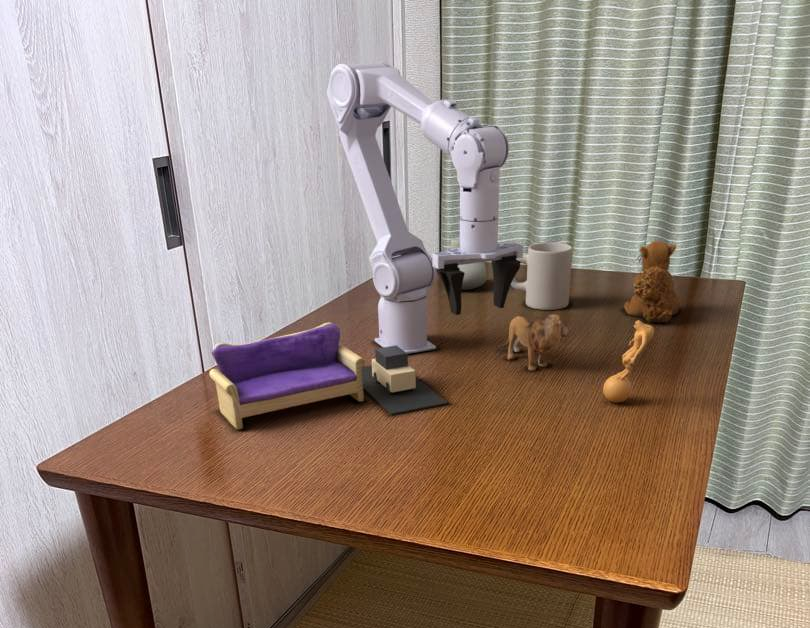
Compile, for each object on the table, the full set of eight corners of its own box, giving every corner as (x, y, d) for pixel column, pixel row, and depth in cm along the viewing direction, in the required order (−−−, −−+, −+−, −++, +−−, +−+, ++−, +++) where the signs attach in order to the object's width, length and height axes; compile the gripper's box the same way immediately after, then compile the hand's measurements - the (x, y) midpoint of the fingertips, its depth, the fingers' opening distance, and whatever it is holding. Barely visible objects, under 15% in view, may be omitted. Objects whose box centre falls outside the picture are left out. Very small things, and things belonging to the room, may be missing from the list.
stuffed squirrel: (675, 306, 158) (686, 236, 151) (684, 328, 146) (695, 253, 139) (623, 306, 159) (631, 236, 152) (627, 327, 148) (635, 252, 141)
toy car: (372, 379, 128) (370, 346, 125) (395, 375, 129) (394, 342, 126) (391, 396, 122) (390, 361, 119) (416, 392, 123) (415, 357, 120)
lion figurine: (570, 370, 130) (574, 314, 125) (545, 377, 127) (548, 321, 122) (510, 347, 140) (512, 295, 135) (486, 353, 138) (487, 300, 133)
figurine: (602, 390, 122) (610, 310, 116) (643, 392, 121) (654, 312, 114) (601, 411, 115) (610, 328, 109) (645, 414, 114) (656, 330, 107)
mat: (344, 372, 132) (344, 370, 132) (395, 363, 135) (395, 361, 135) (391, 415, 116) (391, 413, 116) (447, 404, 119) (447, 402, 119)
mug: (569, 299, 165) (573, 242, 159) (567, 310, 158) (572, 252, 152) (510, 297, 167) (512, 242, 161) (506, 309, 160) (508, 251, 154)
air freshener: (441, 282, 179) (441, 234, 174) (478, 279, 180) (479, 232, 175) (449, 294, 170) (449, 245, 165) (488, 292, 171) (489, 243, 166)
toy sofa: (232, 432, 113) (221, 361, 107) (214, 412, 119) (203, 344, 114) (368, 402, 121) (364, 334, 115) (344, 384, 127) (339, 319, 122)
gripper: (446, 227, 115) (447, 323, 122) (535, 217, 119) (530, 309, 126) (426, 220, 120) (427, 311, 127) (511, 210, 125) (508, 299, 132)
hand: (477, 309), depth 127 cm, fingers open, 7 cm apart
